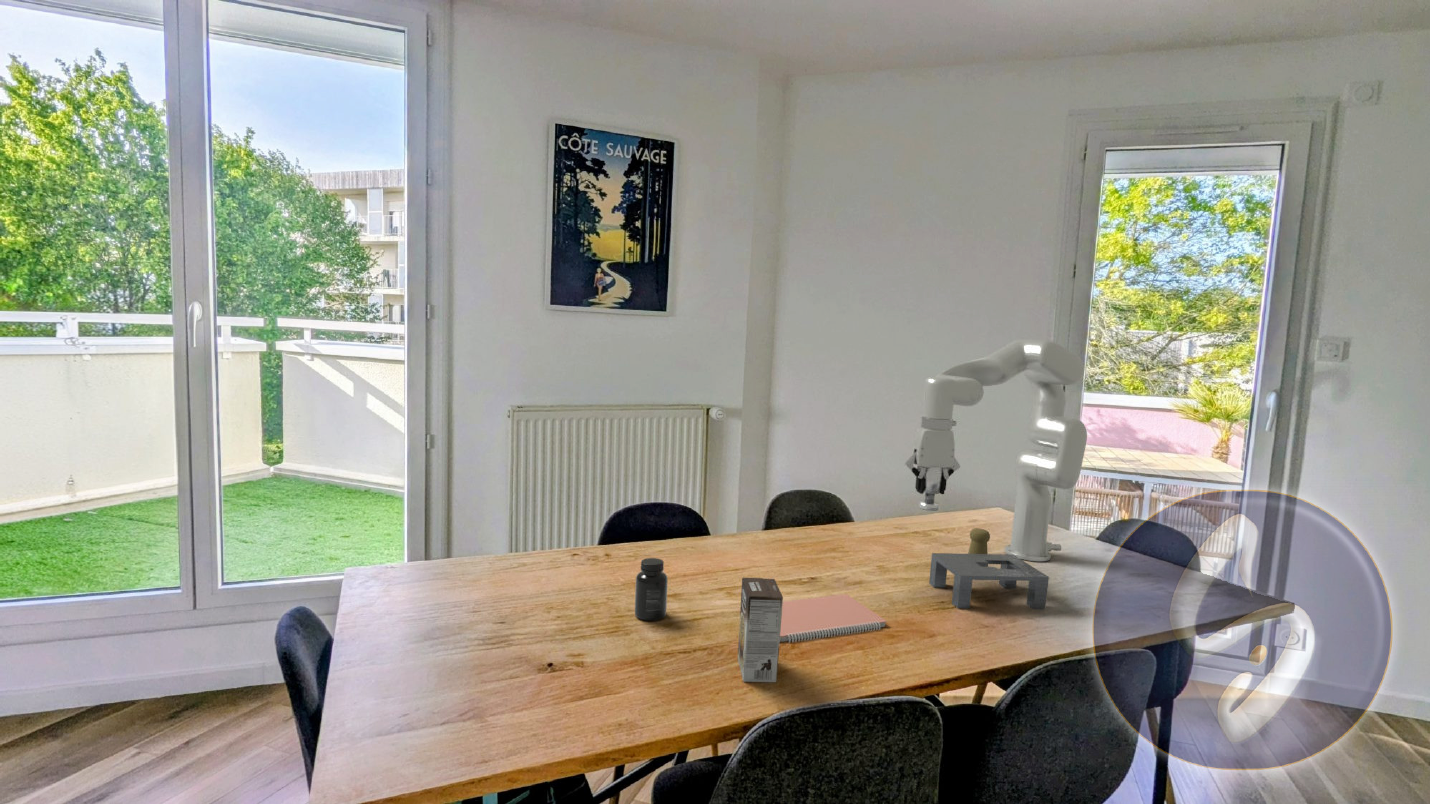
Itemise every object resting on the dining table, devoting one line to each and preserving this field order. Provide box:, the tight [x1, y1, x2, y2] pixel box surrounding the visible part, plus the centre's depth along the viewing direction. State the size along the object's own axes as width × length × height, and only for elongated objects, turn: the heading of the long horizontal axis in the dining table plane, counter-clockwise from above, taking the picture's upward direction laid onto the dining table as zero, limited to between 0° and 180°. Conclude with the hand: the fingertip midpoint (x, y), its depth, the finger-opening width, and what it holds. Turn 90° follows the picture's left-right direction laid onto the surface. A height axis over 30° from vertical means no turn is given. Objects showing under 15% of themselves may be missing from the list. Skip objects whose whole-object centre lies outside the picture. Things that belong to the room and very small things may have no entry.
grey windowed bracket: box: [928, 552, 1050, 610], centre depth 173 cm, size 22×16×8 cm
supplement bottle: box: [634, 557, 668, 622], centre depth 150 cm, size 7×7×12 cm
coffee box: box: [737, 577, 784, 683], centre depth 129 cm, size 9×6×16 cm
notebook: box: [780, 593, 888, 644], centre depth 153 cm, size 27×17×2 cm, turn 113°
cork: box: [967, 527, 991, 567], centre depth 194 cm, size 6×6×11 cm
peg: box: [918, 467, 942, 512], centre depth 185 cm, size 5×5×12 cm
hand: (930, 492), depth 185 cm, fingers closed on peg, 5 cm apart
